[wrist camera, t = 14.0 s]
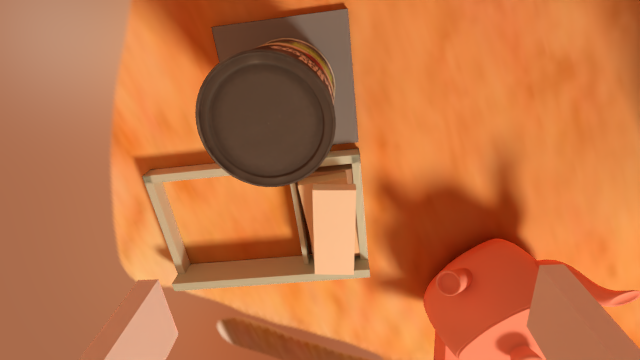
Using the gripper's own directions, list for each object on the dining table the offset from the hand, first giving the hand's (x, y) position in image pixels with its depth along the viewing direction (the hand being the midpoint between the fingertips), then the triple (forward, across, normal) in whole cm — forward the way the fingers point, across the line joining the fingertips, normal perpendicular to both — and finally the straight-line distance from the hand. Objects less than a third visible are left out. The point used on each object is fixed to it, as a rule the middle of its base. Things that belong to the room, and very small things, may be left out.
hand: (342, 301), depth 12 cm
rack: (+30, -11, -14) cm, 35 cm away
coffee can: (+29, -6, +2) cm, 30 cm away
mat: (+30, -6, +2) cm, 30 cm away
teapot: (+30, +18, -26) cm, 44 cm away
